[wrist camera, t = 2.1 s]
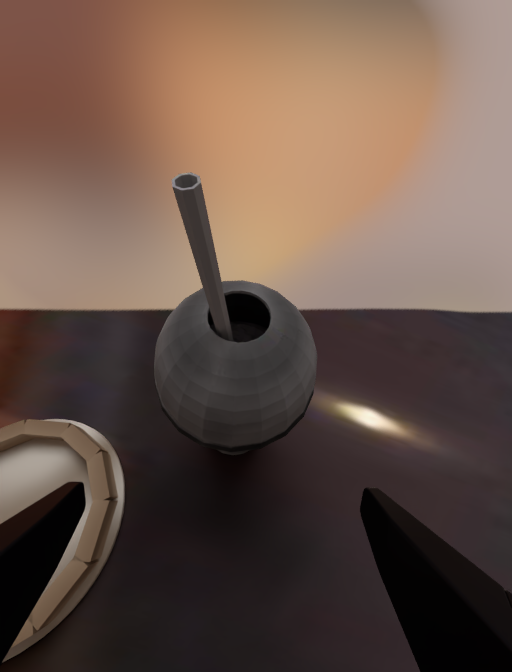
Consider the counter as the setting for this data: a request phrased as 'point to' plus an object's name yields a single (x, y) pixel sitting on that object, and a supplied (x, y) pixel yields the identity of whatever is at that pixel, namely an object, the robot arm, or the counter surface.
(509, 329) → the counter surface
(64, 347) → the counter surface
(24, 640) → the ring holder
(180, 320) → the beverage cup
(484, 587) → the robot arm
